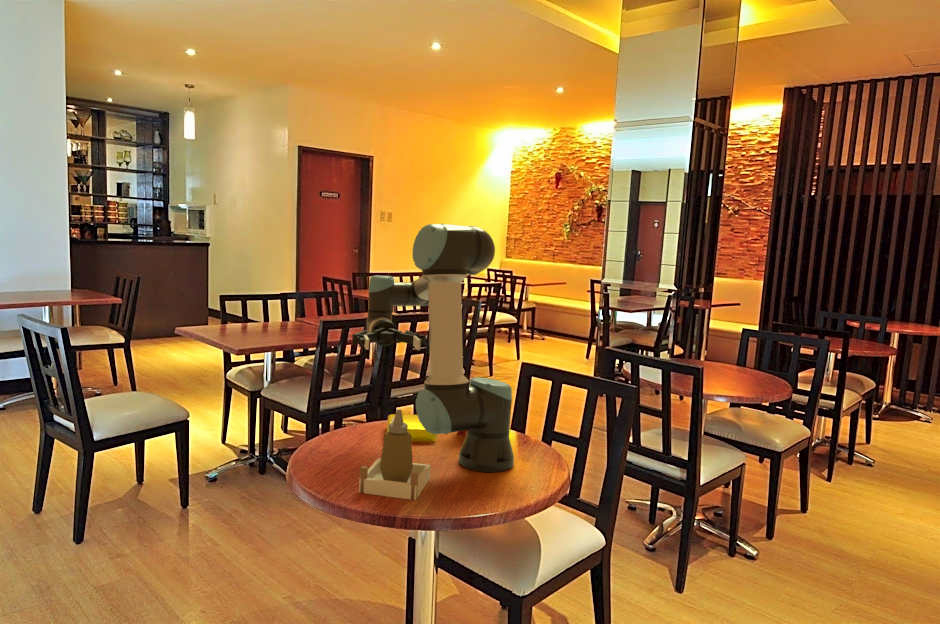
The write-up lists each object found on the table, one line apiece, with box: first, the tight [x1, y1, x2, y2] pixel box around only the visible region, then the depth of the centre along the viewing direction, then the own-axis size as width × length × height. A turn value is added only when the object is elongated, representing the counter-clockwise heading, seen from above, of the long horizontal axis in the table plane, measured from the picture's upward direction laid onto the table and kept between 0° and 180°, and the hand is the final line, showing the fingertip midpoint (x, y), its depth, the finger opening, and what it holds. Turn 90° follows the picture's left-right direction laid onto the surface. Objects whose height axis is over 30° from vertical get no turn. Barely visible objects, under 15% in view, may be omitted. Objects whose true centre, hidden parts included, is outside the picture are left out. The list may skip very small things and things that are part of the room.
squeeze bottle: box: [380, 409, 414, 483], centre depth 158 cm, size 8×8×18 cm
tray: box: [358, 458, 432, 501], centre depth 158 cm, size 14×14×6 cm
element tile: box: [386, 413, 438, 443], centre depth 199 cm, size 15×15×5 cm
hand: (393, 344), depth 171 cm, fingers open, 13 cm apart
